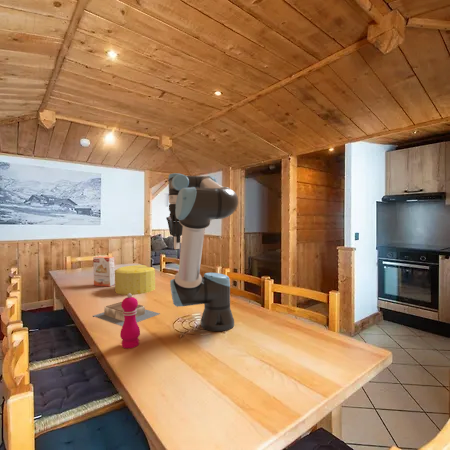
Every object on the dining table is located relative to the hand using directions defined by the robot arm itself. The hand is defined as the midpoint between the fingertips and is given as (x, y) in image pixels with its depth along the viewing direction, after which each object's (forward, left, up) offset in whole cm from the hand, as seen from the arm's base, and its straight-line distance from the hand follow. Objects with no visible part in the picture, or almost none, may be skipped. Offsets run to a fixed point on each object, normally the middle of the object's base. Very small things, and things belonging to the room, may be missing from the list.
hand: (176, 248), depth 151 cm
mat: (+15, +20, -32) cm, 41 cm away
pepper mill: (-14, +40, -33) cm, 54 cm away
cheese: (+55, -15, -33) cm, 66 cm away
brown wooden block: (+8, +21, -30) cm, 37 cm away
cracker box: (+84, -10, -33) cm, 91 cm away
